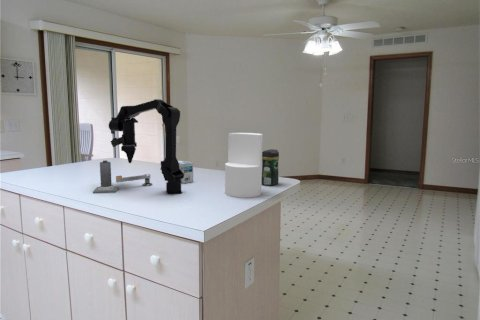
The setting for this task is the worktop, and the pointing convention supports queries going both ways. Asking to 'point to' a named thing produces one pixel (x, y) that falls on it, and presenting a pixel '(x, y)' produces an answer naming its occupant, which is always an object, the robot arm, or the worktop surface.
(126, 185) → the worktop surface
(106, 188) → the plug
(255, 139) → the cylinder
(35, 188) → the worktop surface
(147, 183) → the grey flanged disc
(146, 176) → the bar
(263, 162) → the coffee jar
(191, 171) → the light bulb box
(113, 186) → the socket
